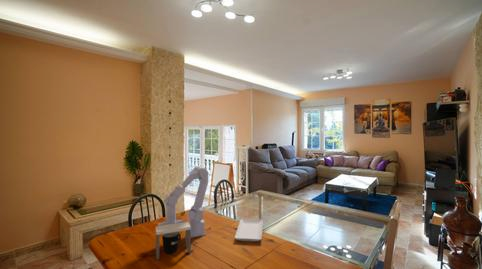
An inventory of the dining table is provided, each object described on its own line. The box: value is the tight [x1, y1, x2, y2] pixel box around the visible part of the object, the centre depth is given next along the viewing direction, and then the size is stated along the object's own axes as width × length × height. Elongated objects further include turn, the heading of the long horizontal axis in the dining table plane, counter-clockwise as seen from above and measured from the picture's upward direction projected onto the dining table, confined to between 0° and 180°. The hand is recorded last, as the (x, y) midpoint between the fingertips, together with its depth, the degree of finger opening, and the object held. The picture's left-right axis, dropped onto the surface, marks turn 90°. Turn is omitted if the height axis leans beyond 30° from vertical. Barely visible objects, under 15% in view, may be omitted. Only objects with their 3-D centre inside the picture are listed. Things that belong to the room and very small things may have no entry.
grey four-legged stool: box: [155, 221, 192, 260], centre depth 127 cm, size 18×8×14 cm, turn 113°
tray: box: [234, 218, 264, 242], centre depth 153 cm, size 17×31×4 cm, turn 173°
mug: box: [161, 231, 182, 255], centre depth 130 cm, size 12×9×10 cm
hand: (171, 237), depth 139 cm, fingers closed
